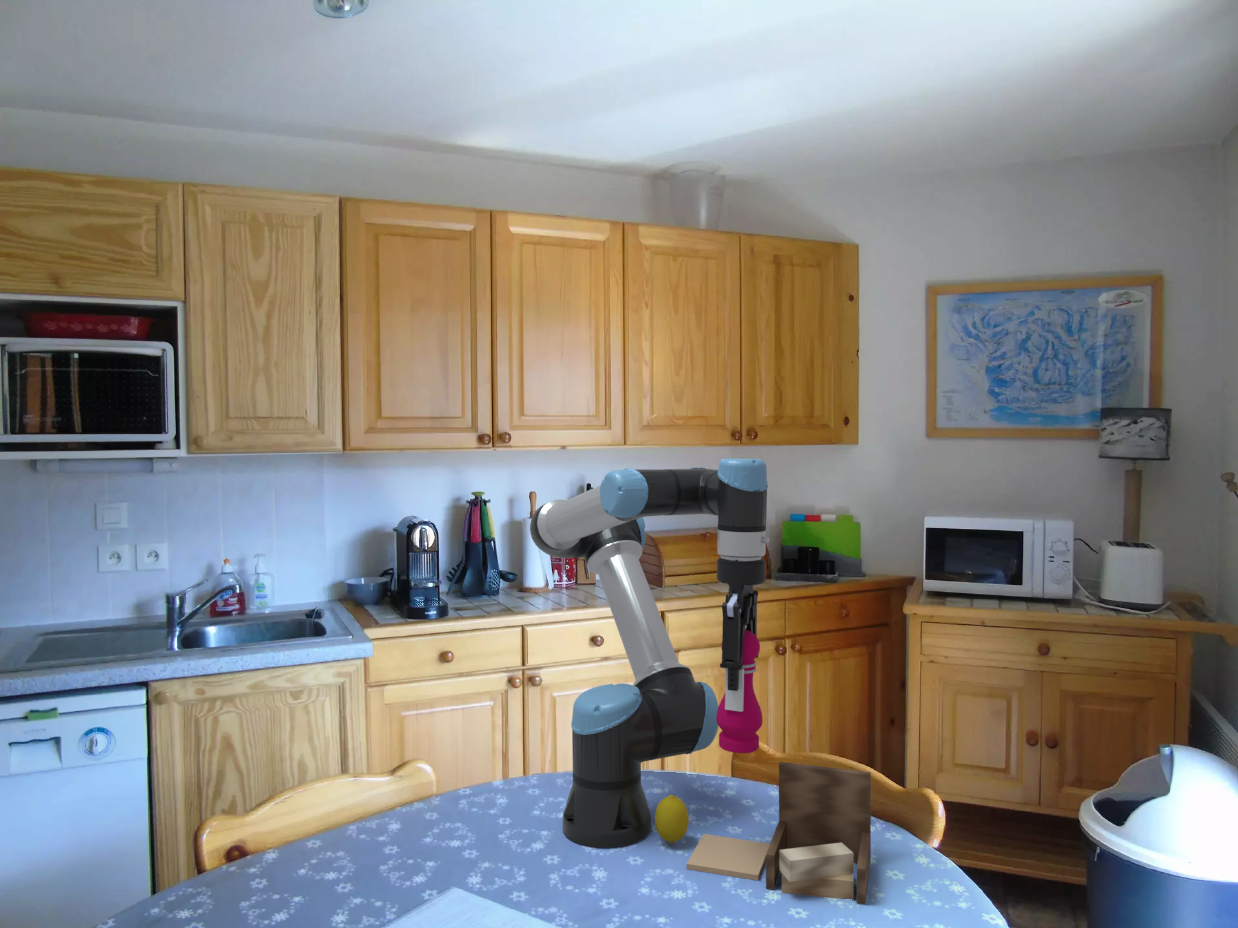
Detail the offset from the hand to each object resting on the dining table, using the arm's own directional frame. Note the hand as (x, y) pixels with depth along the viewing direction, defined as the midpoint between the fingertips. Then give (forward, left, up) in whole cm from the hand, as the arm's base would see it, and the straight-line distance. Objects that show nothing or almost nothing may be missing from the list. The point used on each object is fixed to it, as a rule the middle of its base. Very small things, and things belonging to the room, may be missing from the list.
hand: (739, 703), depth 134 cm
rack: (+13, -1, -24) cm, 27 cm away
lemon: (-11, +1, -25) cm, 27 cm away
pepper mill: (0, 0, -7) cm, 7 cm away
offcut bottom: (+13, -6, -25) cm, 28 cm away
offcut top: (+13, -6, -22) cm, 26 cm away
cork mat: (-1, -1, -24) cm, 24 cm away
